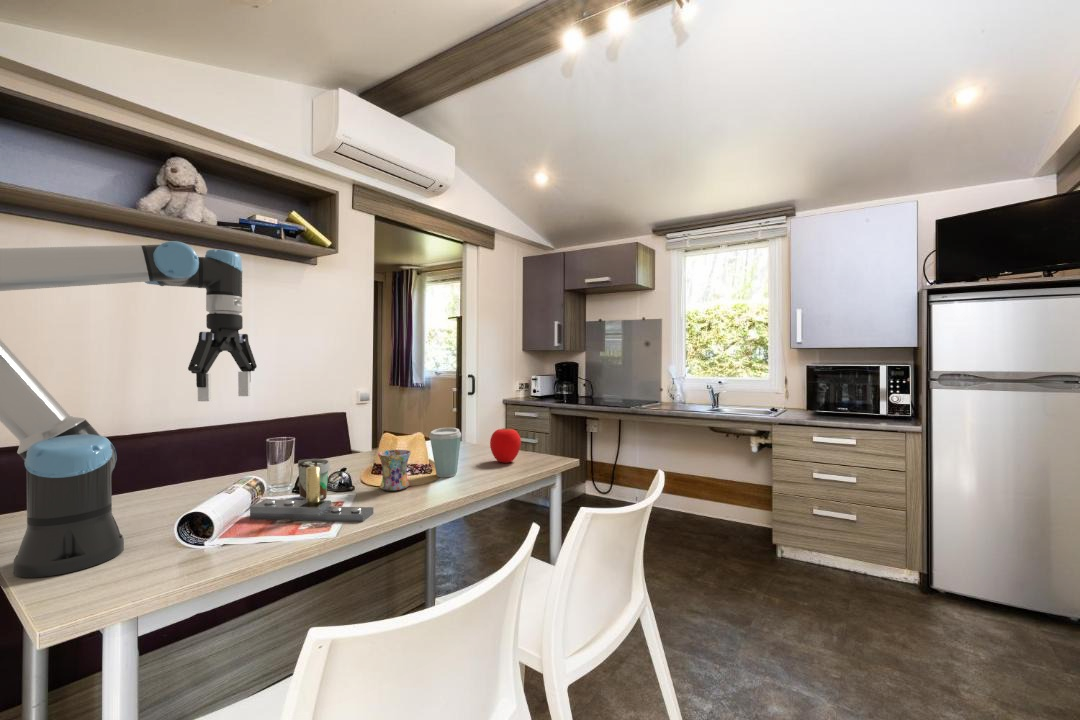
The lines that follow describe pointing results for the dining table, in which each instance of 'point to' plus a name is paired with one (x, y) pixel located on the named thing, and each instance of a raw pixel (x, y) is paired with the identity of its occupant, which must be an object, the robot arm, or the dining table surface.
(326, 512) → the grey studded plate
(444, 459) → the disposable coffee cup
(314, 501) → the pin
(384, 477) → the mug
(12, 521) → the dining table surface
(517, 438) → the red apple
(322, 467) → the food container
